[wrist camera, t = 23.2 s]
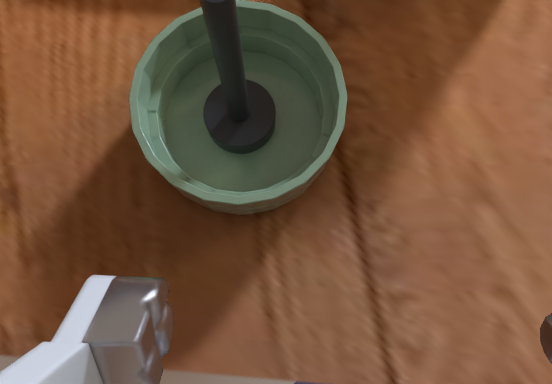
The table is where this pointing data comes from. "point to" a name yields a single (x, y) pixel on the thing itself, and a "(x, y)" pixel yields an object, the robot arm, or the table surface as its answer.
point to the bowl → (258, 67)
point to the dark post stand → (234, 87)
